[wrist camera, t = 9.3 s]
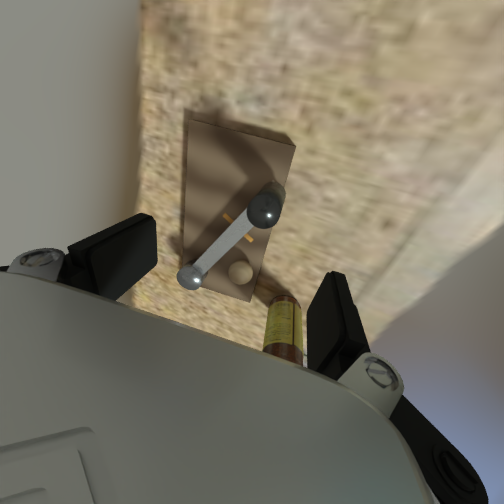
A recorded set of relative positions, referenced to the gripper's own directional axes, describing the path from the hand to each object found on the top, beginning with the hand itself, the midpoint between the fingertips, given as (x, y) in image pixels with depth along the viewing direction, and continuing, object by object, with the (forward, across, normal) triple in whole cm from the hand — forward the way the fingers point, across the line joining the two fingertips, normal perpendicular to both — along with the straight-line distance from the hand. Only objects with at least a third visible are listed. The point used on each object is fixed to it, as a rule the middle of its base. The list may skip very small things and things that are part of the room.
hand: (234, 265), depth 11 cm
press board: (+22, +6, +8) cm, 24 cm away
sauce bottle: (+22, -8, +22) cm, 32 cm away
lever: (+19, +5, +9) cm, 22 cm away
